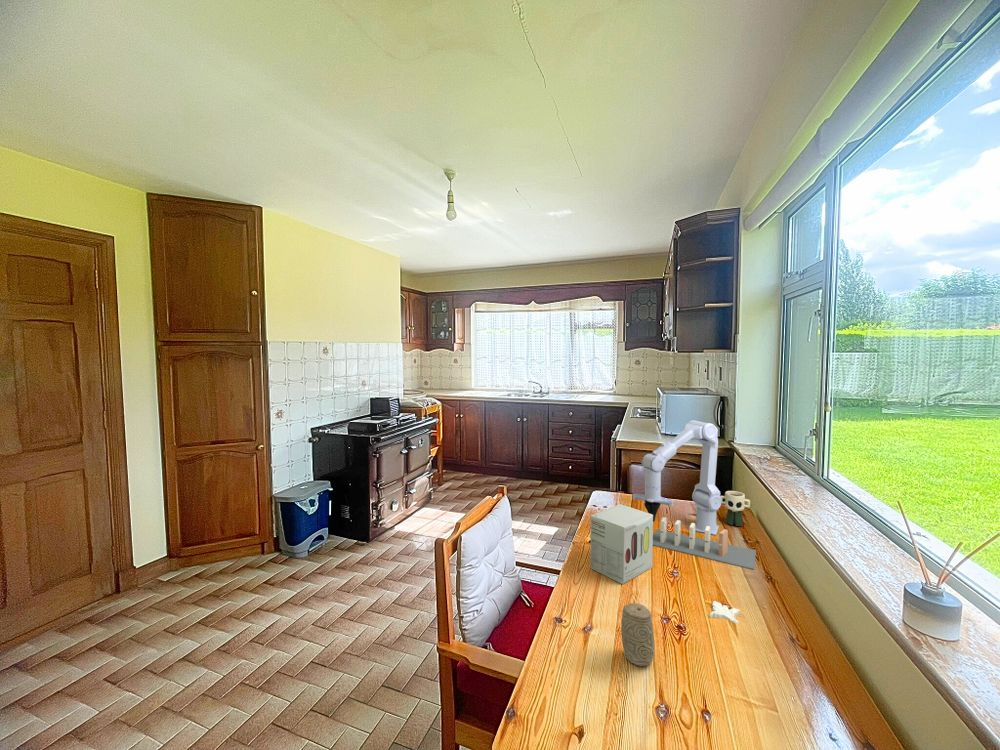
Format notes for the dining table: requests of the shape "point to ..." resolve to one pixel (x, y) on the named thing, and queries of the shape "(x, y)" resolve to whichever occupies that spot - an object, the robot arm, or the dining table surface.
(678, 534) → the tile
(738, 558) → the mat
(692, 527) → the tile
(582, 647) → the dining table surface
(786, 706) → the dining table surface
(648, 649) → the carving
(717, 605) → the acanthus leaf ornament
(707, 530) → the tile
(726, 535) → the tile end
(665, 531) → the tile
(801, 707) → the dining table surface
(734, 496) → the character mug
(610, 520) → the supplement box
